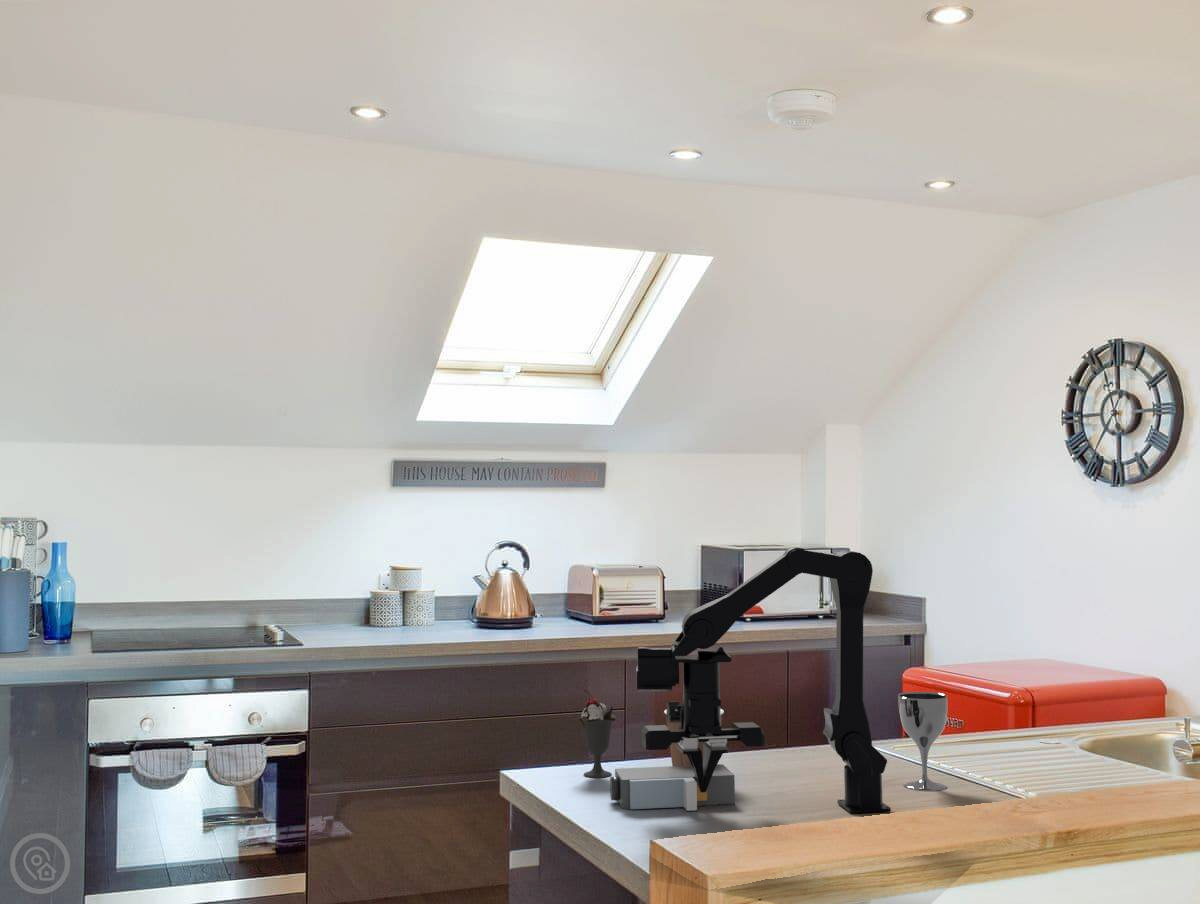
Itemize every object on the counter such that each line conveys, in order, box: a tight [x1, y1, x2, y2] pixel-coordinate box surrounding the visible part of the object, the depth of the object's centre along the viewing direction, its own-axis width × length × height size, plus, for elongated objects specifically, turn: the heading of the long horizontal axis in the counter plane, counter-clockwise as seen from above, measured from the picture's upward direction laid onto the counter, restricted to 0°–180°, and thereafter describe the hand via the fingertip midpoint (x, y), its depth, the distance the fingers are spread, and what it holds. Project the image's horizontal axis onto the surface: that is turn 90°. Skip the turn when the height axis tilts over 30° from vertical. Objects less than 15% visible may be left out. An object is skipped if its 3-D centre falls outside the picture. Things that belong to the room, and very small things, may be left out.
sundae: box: [578, 688, 616, 779], centre depth 205 cm, size 7×7×15 cm
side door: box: [630, 777, 698, 812], centre depth 180 cm, size 3×10×4 cm, turn 97°
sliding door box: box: [609, 763, 736, 810], centre depth 186 cm, size 8×19×5 cm, turn 97°
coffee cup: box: [663, 708, 725, 766], centre depth 200 cm, size 10×10×12 cm
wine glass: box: [897, 691, 948, 792], centre depth 194 cm, size 8×8×15 cm
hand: (702, 791), depth 180 cm, fingers closed
